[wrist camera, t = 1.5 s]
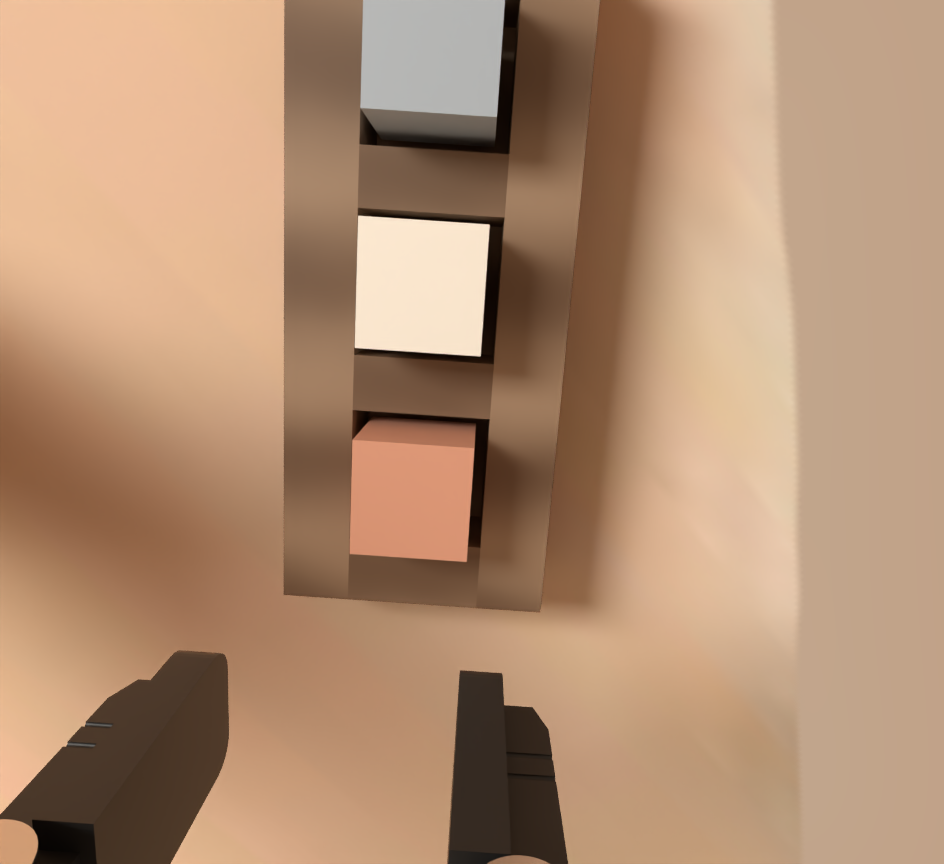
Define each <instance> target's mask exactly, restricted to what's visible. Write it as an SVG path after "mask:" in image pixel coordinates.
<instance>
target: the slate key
mask: <svg viewBox="0 0 944 864" xmlns="http://www.w3.org/2000/svg"><path fill="white" fill-rule="evenodd" d="M504 7H505V0H363V24H362V64H361V104H360V108H361V110H362V111H363V113H364V114H365V116H366V117H367V119H368V120H369V121H370V123H371V124H372V126H373V127H374V129H375V130H376V132H377V133H378V135H379V136H380V138H381V139H382V140H394V141H409V142H424V143H439V144H454V145H469V146H484V147H495V135H496V122H497V109H498V94H499V80H500V65H501V50H502V36H503V21H504Z"/></svg>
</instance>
